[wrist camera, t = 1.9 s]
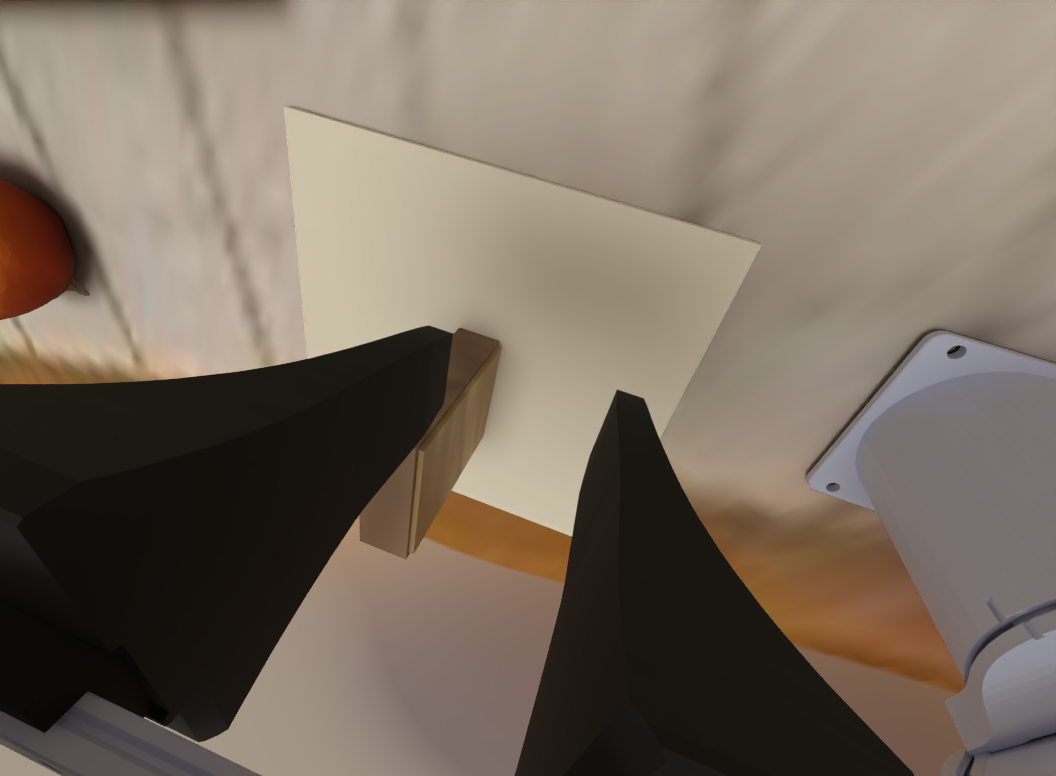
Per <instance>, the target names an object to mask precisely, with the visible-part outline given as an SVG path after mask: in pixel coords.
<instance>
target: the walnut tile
mask: <svg viewBox="0 0 1056 776" xmlns="http://www.w3.org/2000/svg"><path fill="white" fill-rule="evenodd" d="M499 342H500V341H499V340H496V339H493V338H490V337H487V336H484V335H481V334H478V333H475V332H472V331H469V330H466V329H463V328H459V329H458V330H457V331H456V332H455V333H454V334H453V338H452V346H451V353H450V361H449V369H448V376H447V384H446V392H445V399H444V404H443V406H442V407H441V409H440V411H439V412H438V414H437V416H436V417H435V419H434V421H433V422H432V424H431V426H430V427H429V429H428V430H427V432H426V433H425V435H424V436H423V438H422V439H421V440H420V441H419V443H418V444H417V445H416V446H415V447H414V449H413V450H412V451H411V452H410V454H409V455H408V456H407V457H406V458H405V460H404V461H403V462H402V463H401V464H400V466H399V467H398V468H397V469H396V471H395V472H394V473H393V474H392V475H391V477H390V478H389V479H388V480H387V481H386V483H385V484H384V485H383V486H382V487H381V489H380V490H379V491H378V492H377V493H376V495H375V496H374V497H373V498H372V499H371V501H370V502H369V503H368V504H367V506H366V507H365V508H364V510H363V511H362V512H361V513H360V541H362V542H364V543H367V544H369V545H372V546H374V547H377V548H379V549H382V550H384V551H387V552H389V553H392V554H394V555H396V556H399V557H401V558H404V559H407V557H408V555H409V554H410V553H412V554H414V552H415V550H416V549H417V547H418V546H419V544H420V542H421V541H422V539H423V537H424V536H425V534H426V532H427V531H428V529H429V527H430V525H431V524H432V522H433V520H434V519H435V517H436V515H437V514H438V512H439V510H440V509H441V507H442V505H443V504H444V502H445V500H446V499H447V497H448V495H449V493H450V492H451V490H452V488H453V487H454V485H455V483H456V482H457V480H458V478H459V477H460V475H461V473H462V472H463V470H464V468H465V467H466V465H467V463H468V461H469V460H470V458H471V456H472V455H473V453H474V451H475V450H476V448H477V446H478V445H479V443H480V441H481V440H482V438H483V435H484V430H485V425H486V420H487V415H488V411H489V406H490V401H491V396H492V391H493V387H494V382H495V377H496V372H497V367H498V363H499V358H500V353H501V347H499Z"/></svg>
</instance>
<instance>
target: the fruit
mask: <svg viewBox="0 0 1056 776" xmlns="http://www.w3.org/2000/svg"><path fill="white" fill-rule="evenodd" d="M73 273H74V256H73V252H72V248H71V246H70V243H69V241H68V238H67V235H66V232H65V229H64V226H63V222H62V219H61V218H60V216H59V215H58V214H57V213H56V212H54V211H53V210H52V209H51V208H50V207H49V206H47V205H46V204H45V203H44V202H42V201H41V200H40V199H38V198H36V197H35V196H33V195H31V194H29V193H27V192H26V191H24V190H22V189H20V188H18V187H16V186H14V185H12V184H10V183H8V182H6V181H4V180H2V179H0V320H3V319H7V318H12V317H16V316H20V315H23V314H25V313H28V312H31V311H33V310H35V309H37V308H39V307H41V306H43V305H45V304H47V303H48V302H50V301H51V300H53V299H55V298H57V297H59V296H60V295H61V294H62V293H64V292H65V291H67V290H73V291H76V292H78V293H80V294H82V295H85V296H87V295H90V294H89V293H87V292H85V291H83V290H81V289H80V288H78V287H77V286H75V285H74V284H73Z"/></svg>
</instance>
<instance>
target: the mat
mask: <svg viewBox="0 0 1056 776" xmlns="http://www.w3.org/2000/svg"><path fill="white" fill-rule="evenodd" d="M284 114H285V125H286V135H287V146H288V157H289V168H290V178H291V189H292V200H293V211H294V221H295V232H296V243H297V254H298V264H299V275H300V286H301V297H302V307H303V318H304V329H305V339H306V350H307V359H309V358H313V357H317V356H321V355H325V354H328V353H332V352H336V351H340V350H344V349H348V348H352V347H355V346H358V345H362V344H365V343H368V342H372V341H375V340H378V339H382V338H385V337H388V336H392V335H395V334H398V333H401V332H405V331H408V330H412V329H415V328H419V327H423V326H428V325H429V326H432V327H435V328H438V329H441V330H444V331H447V332H450V333H453V334H454V333H455V332H456V331H457V330H458V329H459V328H463V329H466V330H469V331H472V332H475V333H478V334H481V335H484V336H487V337H490V338H493V339H496V340H499V341H500V342H499V347H501V353H500V358H499V363H498V367H497V372H496V377H495V382H494V387H493V391H492V396H491V401H490V406H489V411H488V415H487V420H486V425H485V430H484V435H483V438H482V440H481V441H480V443H479V445H478V446H477V448H476V450H475V451H474V453H473V455H472V456H471V458H470V460H469V461H468V463H467V465H466V467H465V468H464V470H463V472H462V473H461V475H460V477H459V478H458V480H457V482H456V483H455V485H454V487H453V488H452V491H454V492H457V493H460V494H462V495H465V496H467V497H470V498H473V499H475V500H478V501H481V502H483V503H486V504H488V505H491V506H494V507H496V508H499V509H501V510H504V511H507V512H509V513H512V514H514V515H517V516H520V517H522V518H525V519H527V520H530V521H533V522H535V523H538V524H541V525H543V526H546V527H548V528H551V529H554V530H556V531H559V532H561V533H564V534H567V535H569V536H572V535H573V528H574V522H575V516H576V509H577V503H578V497H579V492H580V488H581V484H582V481H583V477H584V474H585V470H586V467H587V463H588V460H589V456H590V454H591V451H592V449H593V446H594V444H595V442H596V439H597V437H598V434H599V432H600V429H601V427H602V425H603V422H604V420H605V417H606V415H607V412H608V410H609V408H610V405H611V403H612V400H613V398H614V395H615V393H616V391H617V389H618V390H621V391H624V392H627V393H630V394H632V395H635V396H638V397H641V398H644V400H645V402H646V404H647V406H648V409H649V412H650V415H651V418H652V420H653V423H654V426H655V428H656V431H657V434H658V436H659V439H660V438H661V436H662V434H663V432H664V430H665V428H666V426H667V424H668V423H669V421H670V419H671V417H672V415H673V413H674V411H675V409H676V407H677V405H678V404H679V402H680V400H681V398H682V396H683V394H684V392H685V390H686V388H687V386H688V385H689V383H690V381H691V379H692V377H693V375H694V373H695V371H696V369H697V367H698V366H699V364H700V362H701V360H702V358H703V356H704V354H705V352H706V350H707V348H708V347H709V345H710V343H711V341H712V339H713V337H714V335H715V333H716V331H717V329H718V327H719V326H720V324H721V322H722V320H723V318H724V316H725V314H726V312H727V310H728V308H729V307H730V305H731V303H732V301H733V299H734V297H735V295H736V293H737V291H738V289H739V288H740V286H741V284H742V282H743V280H744V278H745V276H746V274H747V272H748V270H749V269H750V267H751V265H752V263H753V261H754V259H755V257H756V255H757V253H758V251H759V249H760V248H761V246H762V245H761V244H760V243H759V242H756V241H753V240H749V239H746V238H742V237H739V236H735V235H732V234H728V233H725V232H722V231H718V230H715V229H711V228H708V227H704V226H701V225H697V224H694V223H691V222H687V221H684V220H680V219H677V218H673V217H670V216H666V215H663V214H660V213H656V212H653V211H649V210H646V209H642V208H639V207H636V206H632V205H629V204H625V203H622V202H618V201H615V200H611V199H608V198H605V197H601V196H598V195H594V194H591V193H587V192H584V191H580V190H577V189H574V188H570V187H567V186H563V185H560V184H556V183H553V182H549V181H546V180H543V179H539V178H536V177H532V176H529V175H525V174H522V173H518V172H515V171H512V170H508V169H505V168H501V167H498V166H494V165H491V164H488V163H484V162H481V161H477V160H474V159H470V158H467V157H463V156H460V155H457V154H453V153H450V152H446V151H443V150H439V149H436V148H432V147H429V146H426V145H422V144H419V143H415V142H412V141H408V140H405V139H401V138H398V137H395V136H391V135H388V134H384V133H381V132H377V131H374V130H370V129H367V128H364V127H360V126H357V125H353V124H350V123H346V122H343V121H340V120H336V119H333V118H329V117H326V116H322V115H319V114H315V113H312V112H309V111H305V110H302V109H298V108H295V107H291V106H284Z"/></svg>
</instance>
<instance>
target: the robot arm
mask: <svg viewBox="0 0 1056 776" xmlns="http://www.w3.org/2000/svg"><path fill="white" fill-rule="evenodd" d="M452 338H453V333H450V332H447V331H444V330H441V329H438V328H435V327H432V326H429V325H428V326H423V327H419V328H415V329H412V330H408V331H405V332H401V333H398V334H395V335H392V336H388V337H385V338H382V339H378V340H375V341H372V342H368V343H365V344H362V345H358V346H355V347H352V348H348V349H344V350H340V351H336V352H332V353H328V354H325V355H321V356H317V357H313V358H309V359H305V360H300V361H296V362H291V363H286V364H281V365H276V366H270V367H264V368H258V369H253V370H247V371H240V372H232V373H223V374H214V375H206V376H197V377H188V378H179V379H168V380H153V381H139V382H119V383H96V384H0V744H1V745H4V746H5V747H7V748H9V749H11V750H13V751H15V752H17V753H19V754H21V755H23V756H25V757H27V758H29V759H30V760H32V761H34V762H37V763H38V764H40V765H42V766H44V767H46V768H48V769H50V770H52V771H54V772H56V773H57V774H60V775H61V776H261V775H259V774H257V773H255V772H253V771H251V770H249V769H247V768H244V767H243V766H241V765H238V764H236V763H234V762H232V761H230V760H228V759H226V758H224V757H222V756H220V755H218V754H216V753H214V752H212V751H210V750H208V749H206V748H203V747H202V746H200V745H198V744H195V743H193V742H191V741H189V740H187V739H185V738H183V737H181V736H179V735H177V734H175V733H173V732H171V731H168V730H167V729H164V728H163V727H160V726H158V725H156V724H154V723H152V722H150V721H148V720H146V719H144V717H147V718H148V719H150V720H153V721H155V722H157V723H159V724H161V725H163V726H167V727H169V728H171V729H173V730H175V731H177V732H179V733H181V734H183V735H185V736H187V737H189V738H191V739H193V740H195V741H197V742H202V741H206V740H208V739H210V738H213V737H215V736H217V735H219V734H221V733H222V732H224V731H226V730H227V729H228V728H229V727H230V725H231V723H232V721H233V719H234V717H235V716H236V714H237V712H238V710H239V709H240V707H241V705H242V703H243V701H244V700H245V698H246V696H247V694H248V693H249V691H250V689H251V687H252V686H253V684H254V682H255V680H256V679H257V677H258V675H259V673H260V672H261V670H262V668H263V666H264V665H265V663H266V661H267V660H268V658H269V656H270V654H271V653H272V651H273V649H274V648H275V646H276V644H277V643H278V641H279V639H280V638H281V636H282V634H283V633H284V631H285V629H286V628H287V626H288V624H289V623H290V621H291V620H292V618H293V616H294V614H295V613H296V611H297V609H298V608H299V606H300V605H301V603H302V601H303V600H304V598H305V597H306V595H307V593H308V592H309V590H310V589H311V587H312V586H313V584H314V582H315V581H316V579H317V578H318V576H319V575H320V573H321V571H322V570H323V568H324V566H325V565H326V564H327V562H328V560H329V559H330V557H331V555H332V554H333V553H334V551H335V550H336V548H337V547H338V545H339V544H340V542H341V541H342V539H343V538H344V536H345V535H346V533H347V532H348V530H349V529H350V527H351V526H352V524H353V523H354V521H355V520H356V519H357V517H358V516H359V515H360V513H361V512H362V511H363V510H364V508H365V507H366V506H367V504H368V503H369V502H370V501H371V499H372V498H373V497H374V496H375V495H376V493H377V492H378V491H379V490H380V489H381V487H382V486H383V485H384V484H385V483H386V481H387V480H388V479H389V478H390V477H391V475H392V474H393V473H394V472H395V471H396V469H397V468H398V467H399V466H400V464H401V463H402V462H403V461H404V460H405V458H406V457H407V456H408V455H409V454H410V452H411V451H412V450H413V449H414V447H415V446H416V445H417V444H418V443H419V441H420V440H421V439H422V438H423V436H424V435H425V433H426V432H427V430H428V429H429V427H430V426H431V424H432V422H433V421H434V419H435V417H436V416H437V414H438V412H439V411H440V409H441V407H442V406H443V404H444V399H445V392H446V384H447V376H448V369H449V361H450V353H451V346H452ZM957 345H960V348H959V350H958V351H956V352H955V353H952V354H947V352H948V350H949V349H951V348H952V347H954V346H957ZM806 478H807V483H808V485H809V486H810V488H812V489H813V490H816V491H819V492H821V493H824V494H827V495H830V496H833V497H836V498H839V499H842V500H844V501H847V502H850V503H853V504H856V505H859V506H862V507H864V508H867V509H870V510H873V511H876V512H877V514H878V516H879V518H880V520H881V522H882V523H883V525H884V527H885V529H886V531H887V533H888V535H889V537H890V539H891V541H892V543H893V545H894V547H895V549H896V550H897V552H898V554H899V556H900V558H901V560H902V562H903V564H904V566H905V568H906V570H907V572H908V574H909V575H910V577H911V579H912V581H913V583H914V585H915V587H916V589H917V591H918V593H919V595H920V597H921V599H922V600H923V602H924V604H925V606H926V608H927V610H928V612H929V614H930V616H931V618H932V620H933V622H934V624H935V626H936V627H937V629H938V631H939V633H940V635H941V637H942V639H943V641H944V643H945V645H946V647H947V649H948V651H949V652H950V654H951V656H952V658H953V660H954V662H955V664H956V666H957V668H958V670H959V672H960V674H961V676H962V678H963V679H964V681H965V683H966V687H965V688H964V689H963V690H962V691H961V692H959V693H958V694H957V695H955V696H953V697H951V698H949V699H947V700H946V701H945V705H946V707H947V709H948V711H949V713H950V715H951V717H952V719H953V721H954V724H955V726H956V728H957V730H958V732H959V735H960V737H961V739H962V741H963V743H964V745H965V747H966V748H964V749H961V750H959V751H957V752H955V753H953V754H951V755H950V757H949V758H948V759H947V760H946V761H945V763H944V764H943V766H942V769H941V773H940V775H939V776H1056V364H1055V363H1052V362H1049V361H1045V360H1042V359H1039V358H1035V357H1032V356H1029V355H1025V354H1022V353H1019V352H1015V351H1012V350H1009V349H1005V348H1002V347H999V346H995V345H992V344H989V343H985V342H982V341H978V340H975V339H972V338H968V337H965V336H962V335H958V334H955V333H952V332H948V331H941V330H940V331H935V332H932V333H930V334H928V335H926V336H925V337H924V338H923V339H922V340H921V341H920V342H919V343H918V344H917V346H916V347H915V348H914V349H913V350H912V351H911V353H910V354H909V355H908V356H907V357H906V359H905V360H904V361H903V362H902V363H901V364H900V366H899V367H898V368H897V369H896V370H895V372H894V373H893V374H892V375H891V376H890V377H889V379H888V380H887V381H886V382H885V383H884V385H883V386H882V387H881V388H880V389H879V391H878V392H877V393H876V394H875V395H874V396H873V398H872V399H871V400H870V401H869V402H868V404H867V405H866V406H865V407H864V408H863V409H862V411H861V412H860V413H859V414H858V415H857V417H856V418H855V419H854V420H853V421H852V423H851V424H850V425H849V426H848V427H847V428H846V430H845V431H844V432H843V433H842V434H841V436H840V437H839V438H838V439H837V440H836V441H835V443H834V444H833V445H832V446H831V447H830V449H829V450H828V451H827V452H826V453H825V454H824V456H823V457H822V458H821V459H820V460H819V462H818V463H817V464H816V465H815V466H814V468H813V469H812V470H811V471H810V472H809V473H808V475H807V477H806ZM829 483H836V484H835V485H831V486H829V485H828V484H829ZM515 776H914V774H913V772H912V771H911V770H910V769H909V768H908V767H907V766H906V765H905V764H904V763H903V762H902V761H901V760H900V759H899V758H898V757H897V756H896V755H895V754H894V753H893V752H892V750H891V749H890V748H889V747H888V746H887V745H886V744H885V743H884V742H883V741H882V740H881V739H880V738H879V737H878V736H877V735H876V734H875V733H874V732H873V731H872V730H871V729H870V728H869V727H868V726H867V725H866V723H865V722H864V721H863V720H861V718H860V717H859V716H858V715H857V714H856V713H855V712H854V711H853V710H852V709H851V708H850V707H849V706H848V705H847V704H846V703H845V702H844V701H843V700H842V699H841V697H840V696H839V695H838V694H837V693H836V692H835V691H834V690H833V689H832V688H831V687H830V686H829V685H828V684H827V683H826V682H825V681H824V679H823V678H822V677H821V676H820V675H819V674H818V673H817V672H816V670H815V669H814V668H813V667H812V666H811V665H810V663H809V662H808V661H807V660H806V659H805V658H804V657H803V655H802V654H801V653H800V652H799V651H798V650H797V649H796V647H795V646H794V645H793V644H792V643H791V642H790V641H789V639H788V638H787V637H786V636H785V635H784V634H783V632H782V631H781V630H780V629H779V628H778V626H777V625H776V624H775V623H774V621H773V620H772V619H771V618H770V617H769V615H768V614H767V613H766V612H765V610H764V609H763V608H762V607H761V606H760V604H759V603H758V602H757V600H756V599H755V598H754V596H753V595H752V594H751V592H750V591H749V590H748V588H747V587H746V586H745V584H744V583H743V582H742V581H741V579H740V578H739V577H738V575H737V574H736V573H735V571H734V570H733V569H732V567H731V566H730V564H729V563H728V562H727V560H726V559H725V557H724V556H723V554H722V553H721V552H720V550H719V549H718V547H717V546H716V544H715V542H714V541H713V539H712V538H711V536H710V535H709V533H708V532H707V530H706V528H705V527H704V525H703V524H702V522H701V521H700V519H699V517H698V516H697V514H696V512H695V511H694V509H693V507H692V506H691V504H690V502H689V500H688V498H687V496H686V494H685V493H684V491H683V489H682V487H681V485H680V483H679V481H678V479H677V477H676V475H675V473H674V471H673V468H672V466H671V464H670V462H669V460H668V457H667V455H666V453H665V451H664V448H663V446H662V444H661V441H660V439H659V436H658V434H657V431H656V428H655V426H654V423H653V420H652V418H651V415H650V412H649V409H648V406H647V404H646V402H645V400H644V398H641V397H638V396H635V395H632V394H630V393H627V392H624V391H621V390H618V389H617V391H616V393H615V395H614V398H613V400H612V403H611V405H610V408H609V410H608V412H607V415H606V417H605V420H604V422H603V425H602V427H601V429H600V432H599V434H598V437H597V439H596V442H595V444H594V446H593V449H592V451H591V454H590V456H589V460H588V463H587V467H586V470H585V474H584V477H583V481H582V484H581V488H580V492H579V497H578V503H577V509H576V516H575V522H574V528H573V535H572V541H571V547H570V554H569V560H568V566H567V573H566V579H565V585H564V590H563V595H562V600H561V604H560V608H559V612H558V616H557V620H556V624H555V628H554V632H553V635H552V639H551V643H550V647H549V651H548V655H547V658H546V663H545V666H544V670H543V674H542V677H541V681H540V685H539V689H538V693H537V696H536V700H535V704H534V707H533V711H532V715H531V718H530V722H529V726H528V729H527V733H526V737H525V740H524V744H523V748H522V751H521V755H520V758H519V762H518V766H517V769H516V773H515Z"/></svg>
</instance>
